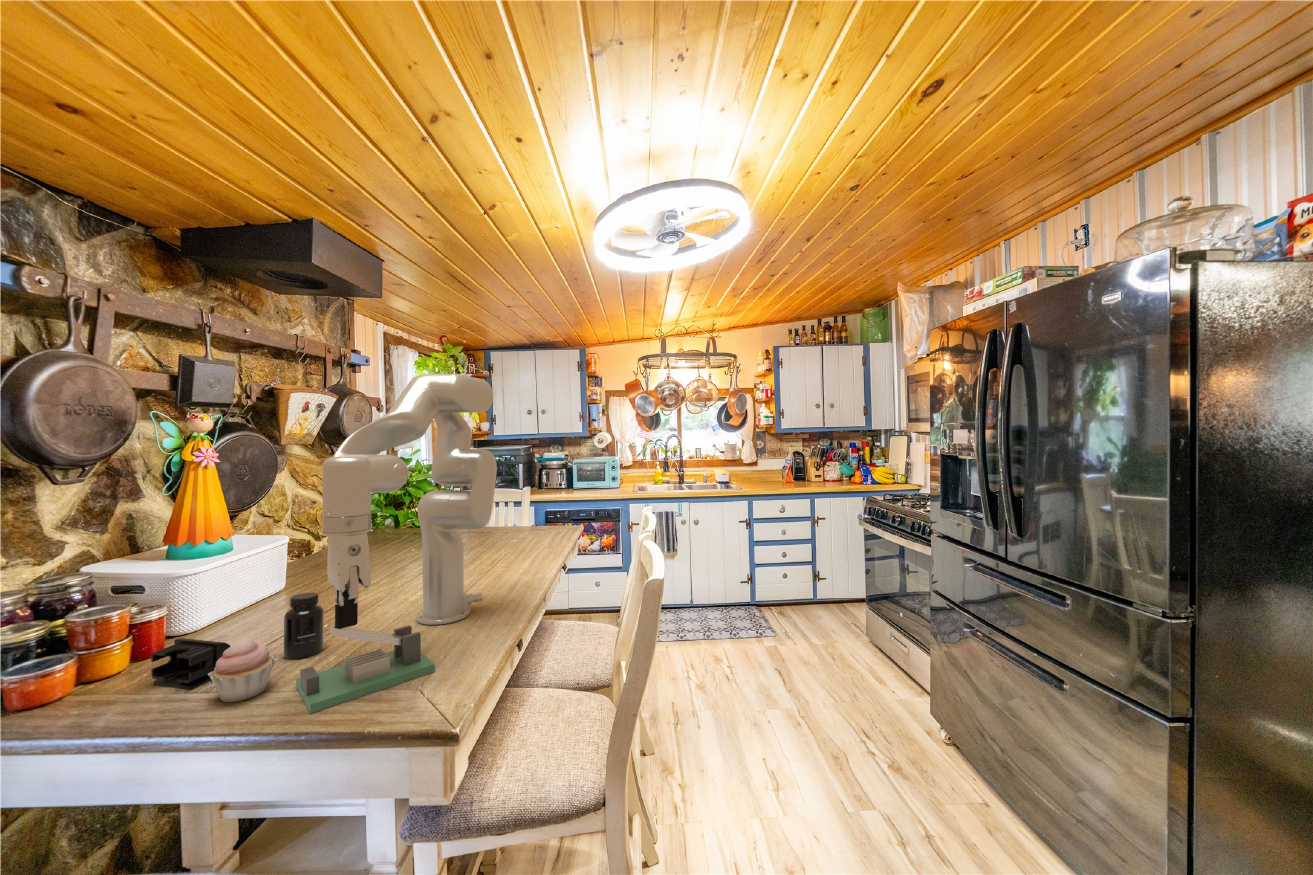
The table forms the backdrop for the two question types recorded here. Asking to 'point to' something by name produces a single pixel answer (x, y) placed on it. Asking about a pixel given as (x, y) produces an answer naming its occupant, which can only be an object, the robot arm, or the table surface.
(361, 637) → the grey long bar
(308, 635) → the supplement bottle
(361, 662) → the board
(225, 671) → the cupcake
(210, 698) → the table surface
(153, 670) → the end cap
